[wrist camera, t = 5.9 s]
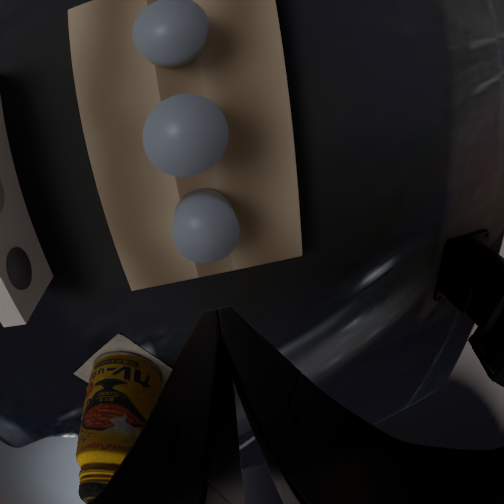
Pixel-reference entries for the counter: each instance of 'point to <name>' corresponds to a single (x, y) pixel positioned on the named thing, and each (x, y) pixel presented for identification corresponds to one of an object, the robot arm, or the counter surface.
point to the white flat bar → (17, 246)
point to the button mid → (185, 135)
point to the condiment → (115, 408)
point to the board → (233, 159)
